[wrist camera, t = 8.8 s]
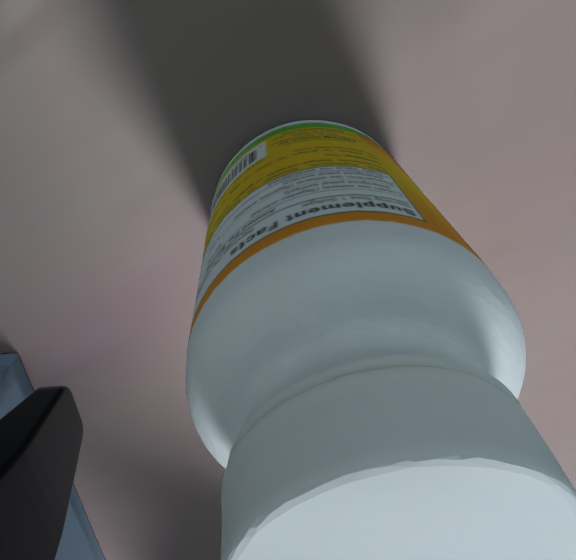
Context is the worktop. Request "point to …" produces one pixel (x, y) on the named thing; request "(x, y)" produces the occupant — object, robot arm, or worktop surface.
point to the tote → (77, 530)
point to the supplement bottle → (361, 369)
